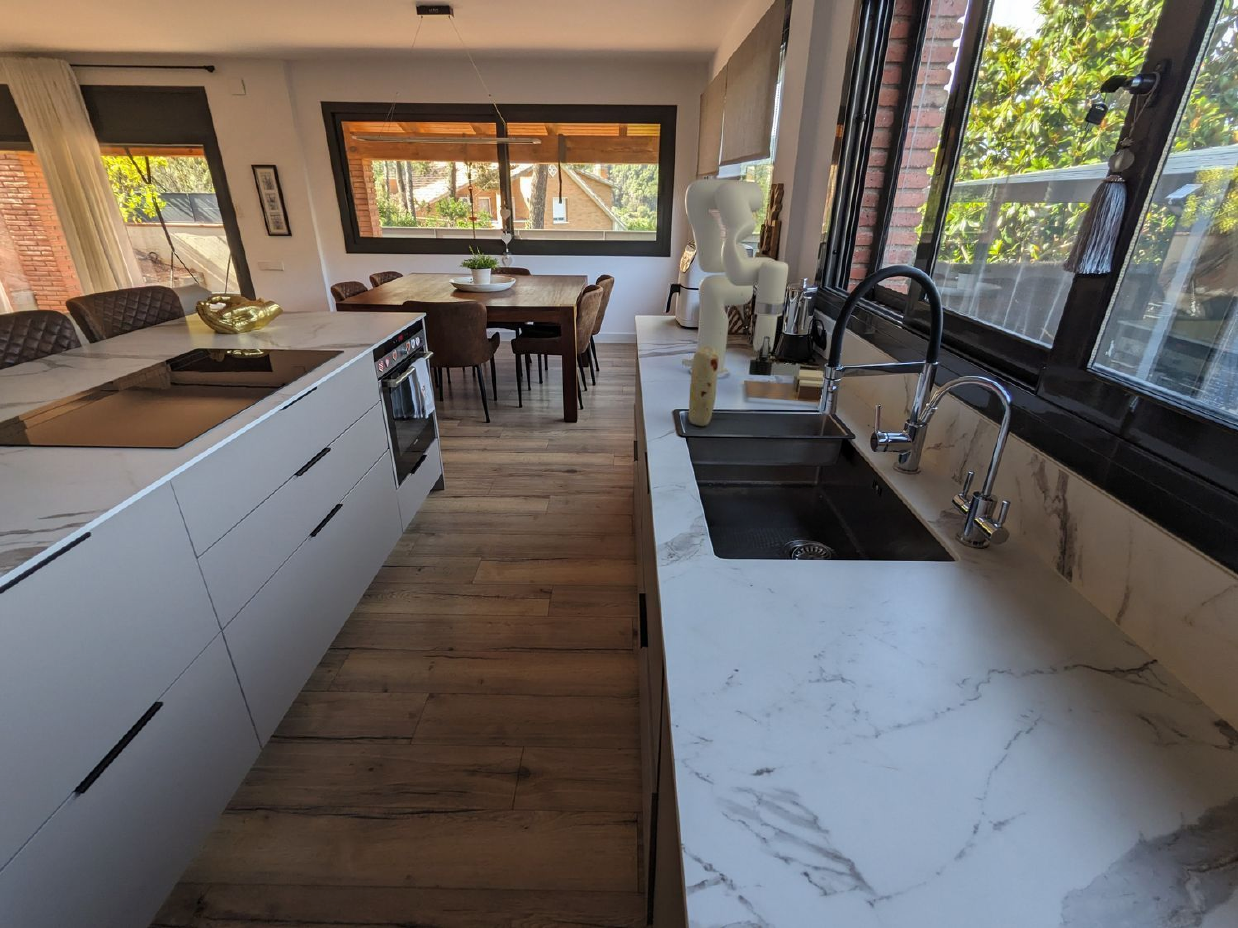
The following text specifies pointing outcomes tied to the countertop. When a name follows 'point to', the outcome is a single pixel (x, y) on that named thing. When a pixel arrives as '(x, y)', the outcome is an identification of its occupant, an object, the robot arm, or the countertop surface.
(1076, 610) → the countertop surface
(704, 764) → the countertop surface
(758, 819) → the countertop surface
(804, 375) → the cake
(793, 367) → the knife
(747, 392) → the cutting board
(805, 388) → the cake slice
